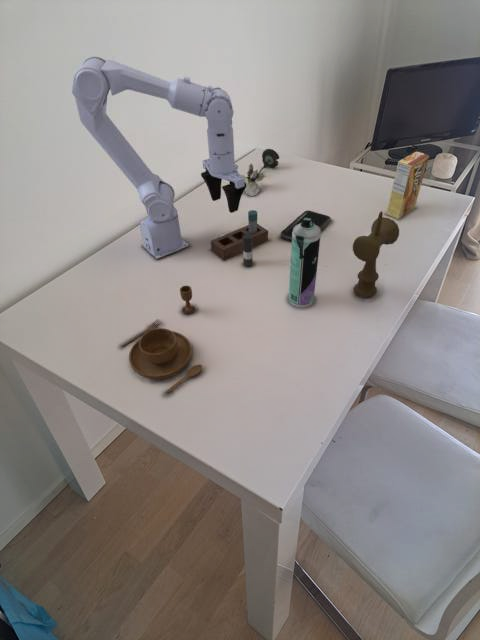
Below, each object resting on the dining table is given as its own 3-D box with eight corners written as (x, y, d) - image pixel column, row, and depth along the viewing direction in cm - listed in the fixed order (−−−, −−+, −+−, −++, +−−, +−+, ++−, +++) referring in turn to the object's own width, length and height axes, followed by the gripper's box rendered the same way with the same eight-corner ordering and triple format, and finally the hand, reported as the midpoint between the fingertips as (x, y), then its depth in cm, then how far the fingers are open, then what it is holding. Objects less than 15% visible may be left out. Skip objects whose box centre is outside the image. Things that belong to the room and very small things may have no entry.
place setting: (110, 351, 85) (102, 329, 81) (188, 303, 95) (184, 282, 91) (163, 401, 76) (158, 379, 72) (244, 342, 86) (243, 320, 82)
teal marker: (252, 243, 112) (251, 215, 107) (247, 239, 114) (246, 212, 108) (259, 240, 113) (259, 212, 108) (253, 236, 114) (253, 209, 109)
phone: (279, 233, 113) (306, 209, 121) (279, 237, 113) (306, 213, 122) (305, 242, 109) (332, 216, 118) (305, 246, 110) (331, 220, 119)
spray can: (312, 309, 92) (321, 227, 79) (287, 306, 93) (291, 224, 80) (314, 293, 96) (323, 212, 83) (290, 290, 97) (294, 210, 84)
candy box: (402, 203, 125) (415, 150, 114) (415, 208, 122) (430, 154, 112) (385, 214, 120) (397, 160, 110) (399, 219, 118) (412, 165, 108)
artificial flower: (284, 172, 146) (291, 146, 137) (251, 208, 134) (256, 182, 125) (261, 161, 147) (267, 135, 139) (227, 195, 135) (231, 169, 127)
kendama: (387, 287, 97) (407, 205, 83) (366, 309, 92) (384, 226, 78) (362, 277, 100) (378, 197, 86) (341, 298, 95) (355, 216, 81)
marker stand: (223, 260, 107) (223, 250, 105) (211, 250, 110) (210, 240, 108) (268, 240, 113) (268, 230, 111) (255, 231, 116) (254, 222, 114)
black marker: (247, 268, 104) (246, 239, 99) (241, 264, 105) (240, 235, 100) (254, 264, 105) (254, 236, 100) (249, 260, 106) (248, 232, 101)
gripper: (254, 155, 94) (255, 211, 103) (218, 136, 103) (221, 190, 112) (228, 163, 91) (231, 220, 101) (193, 144, 100) (198, 198, 109)
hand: (224, 205), depth 106 cm, fingers open, 7 cm apart
